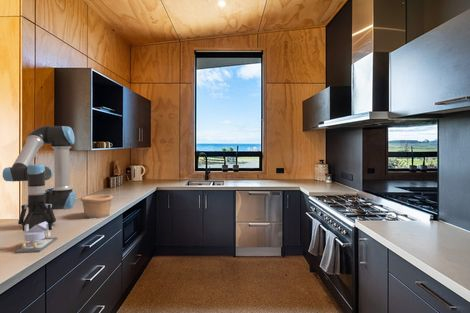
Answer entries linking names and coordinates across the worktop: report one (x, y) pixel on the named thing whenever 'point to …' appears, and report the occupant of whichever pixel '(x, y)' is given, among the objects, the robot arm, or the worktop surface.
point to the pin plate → (36, 245)
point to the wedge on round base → (36, 232)
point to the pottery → (96, 205)
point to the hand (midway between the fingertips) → (37, 236)
